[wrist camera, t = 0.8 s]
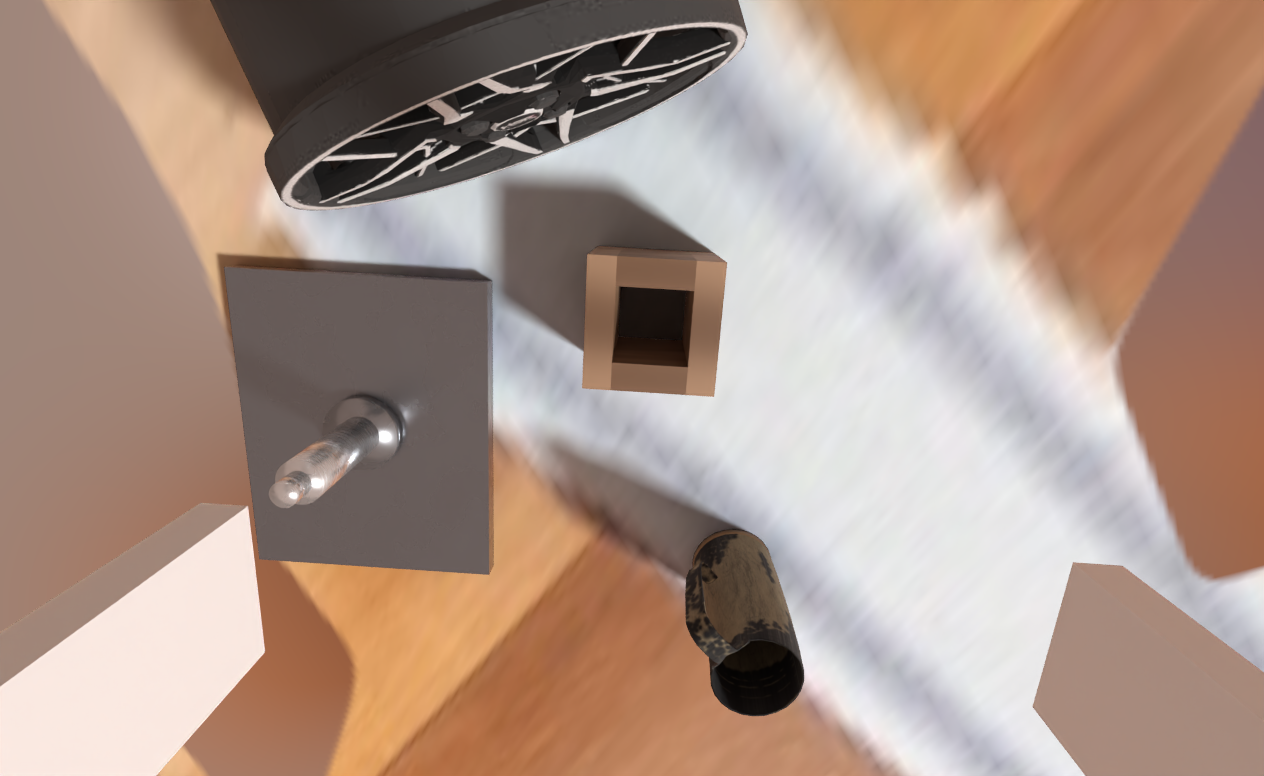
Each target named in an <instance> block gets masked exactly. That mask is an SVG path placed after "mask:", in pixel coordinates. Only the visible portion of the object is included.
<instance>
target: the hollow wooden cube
mask: <svg viewBox="0 0 1264 776" xmlns="http://www.w3.org/2000/svg"><path fill="white" fill-rule="evenodd" d="M726 268H727V262H726V261H724V260H723V259H721V258H720V257H719V256H717V255H716V254H715V253H708V252H692V251H675V250H659V249H642V248H625V247H609V246H598V247H596V248H595V249H594V250H592V251H591V252H590V253H588V254H587V274H586V301H585V328H584V356H583V383H582V388H586V389H602V390H617V391H633V392H649V393H665V394H681V395H697V396H712V397H714V391H715V381H716V371H717V361H718V350H719V340H720V330H721V320H722V309H723V299H724V289H725V278H726ZM621 286H622V287H639V288H655V289H671V290H686V295H685V307H684V320H683V332H682V340H670V339H654V338H637V337H621V336H619V318H620V299H621Z"/></svg>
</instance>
